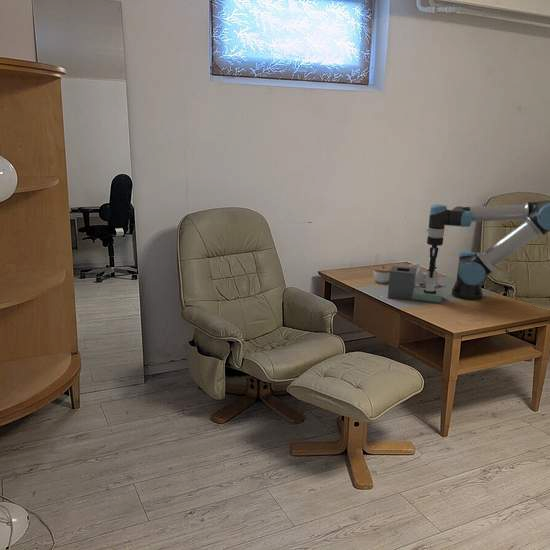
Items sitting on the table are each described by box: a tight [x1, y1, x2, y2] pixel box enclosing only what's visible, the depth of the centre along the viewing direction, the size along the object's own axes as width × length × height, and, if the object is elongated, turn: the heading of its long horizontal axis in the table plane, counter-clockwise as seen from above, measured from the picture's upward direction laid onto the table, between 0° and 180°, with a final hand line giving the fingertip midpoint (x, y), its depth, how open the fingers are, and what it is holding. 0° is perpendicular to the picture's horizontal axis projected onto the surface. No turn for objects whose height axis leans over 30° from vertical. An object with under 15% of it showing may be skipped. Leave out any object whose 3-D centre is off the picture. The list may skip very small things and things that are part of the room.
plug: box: [425, 267, 437, 292], centre depth 271 cm, size 5×4×11 cm
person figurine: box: [408, 263, 442, 287], centre depth 296 cm, size 13×13×18 cm
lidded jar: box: [372, 265, 392, 284], centre depth 302 cm, size 11×11×9 cm
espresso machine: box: [387, 265, 444, 305], centre depth 274 cm, size 26×12×14 cm, turn 71°
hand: (430, 282), depth 271 cm, fingers closed on plug, 4 cm apart
